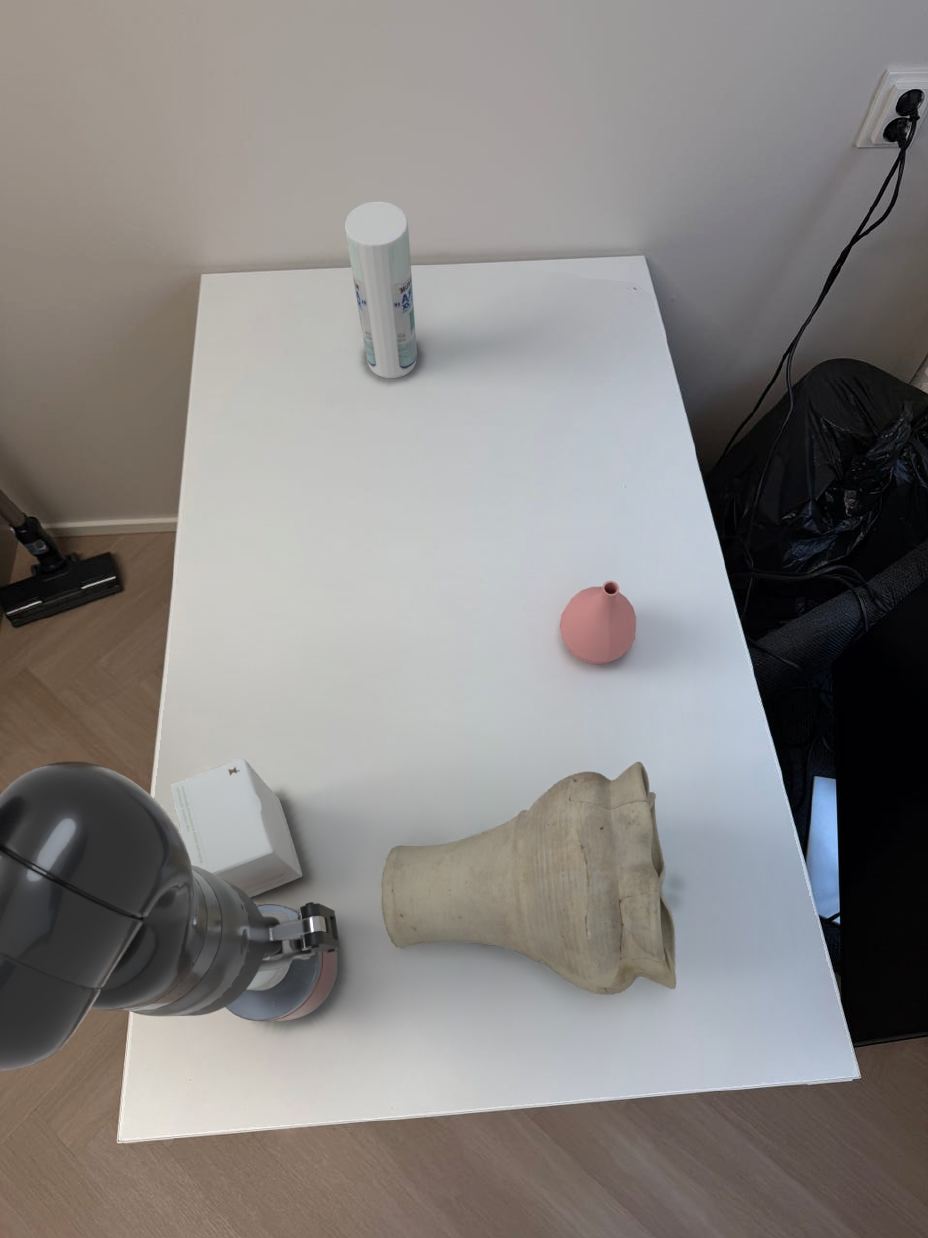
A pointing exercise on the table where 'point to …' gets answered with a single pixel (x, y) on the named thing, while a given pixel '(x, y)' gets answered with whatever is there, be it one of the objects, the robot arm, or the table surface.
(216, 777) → the cosmetic box
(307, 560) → the table surface
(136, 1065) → the table surface
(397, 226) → the spray can
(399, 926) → the vase
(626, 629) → the pink bud vase
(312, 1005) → the tin can
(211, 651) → the table surface
